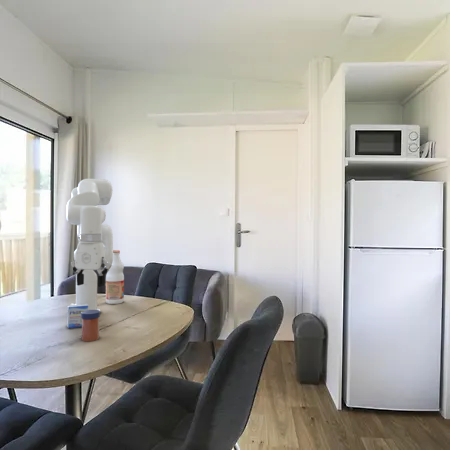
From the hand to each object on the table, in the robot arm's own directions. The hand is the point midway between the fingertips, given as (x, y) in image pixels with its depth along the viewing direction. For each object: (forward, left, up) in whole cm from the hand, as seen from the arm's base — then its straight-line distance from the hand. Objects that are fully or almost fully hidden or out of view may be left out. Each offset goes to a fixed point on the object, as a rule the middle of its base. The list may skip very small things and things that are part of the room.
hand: (90, 285), depth 138 cm
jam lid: (0, 0, -10) cm, 10 cm away
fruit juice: (-24, +57, -20) cm, 65 cm away
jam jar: (0, 0, -20) cm, 20 cm away
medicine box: (-15, +13, -20) cm, 28 cm away
